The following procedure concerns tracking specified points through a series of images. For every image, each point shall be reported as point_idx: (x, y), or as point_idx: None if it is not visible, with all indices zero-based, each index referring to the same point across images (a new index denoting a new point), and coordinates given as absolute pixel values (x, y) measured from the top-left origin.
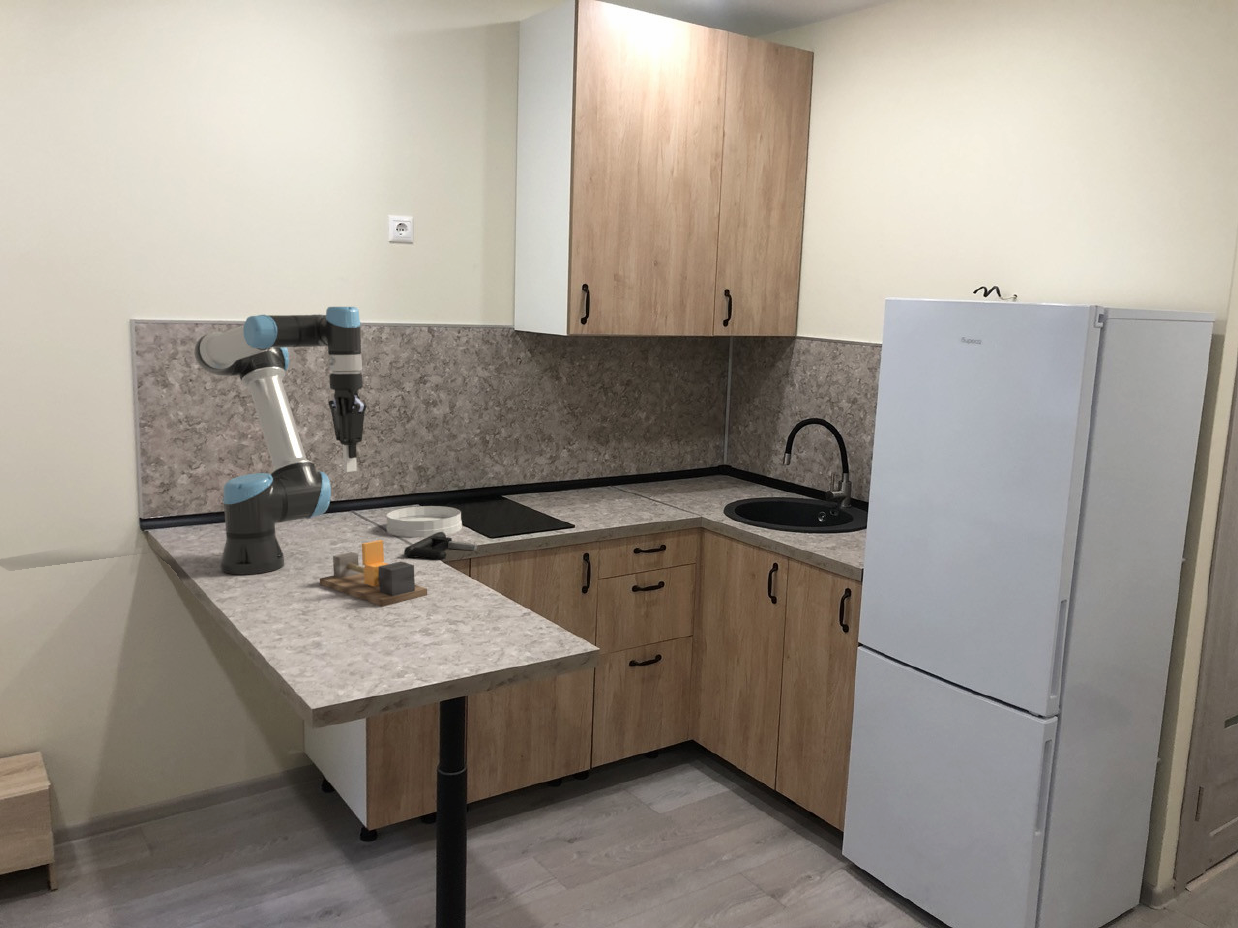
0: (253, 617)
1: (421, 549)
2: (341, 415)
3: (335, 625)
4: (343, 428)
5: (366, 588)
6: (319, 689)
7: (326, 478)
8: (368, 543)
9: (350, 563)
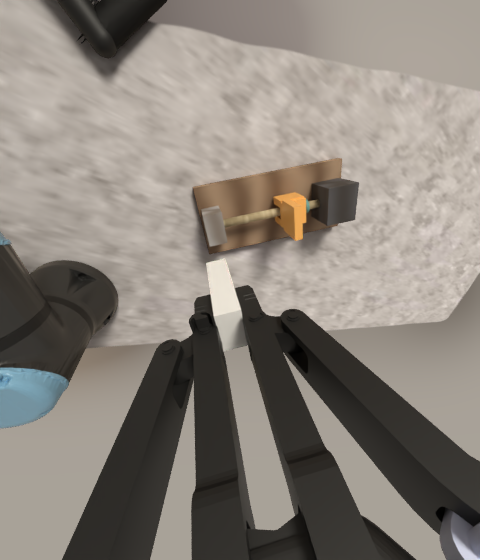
0: None
1: (122, 16)
2: (251, 510)
3: (345, 277)
4: (233, 410)
5: None
6: (430, 314)
7: None
8: (301, 232)
9: (226, 224)
